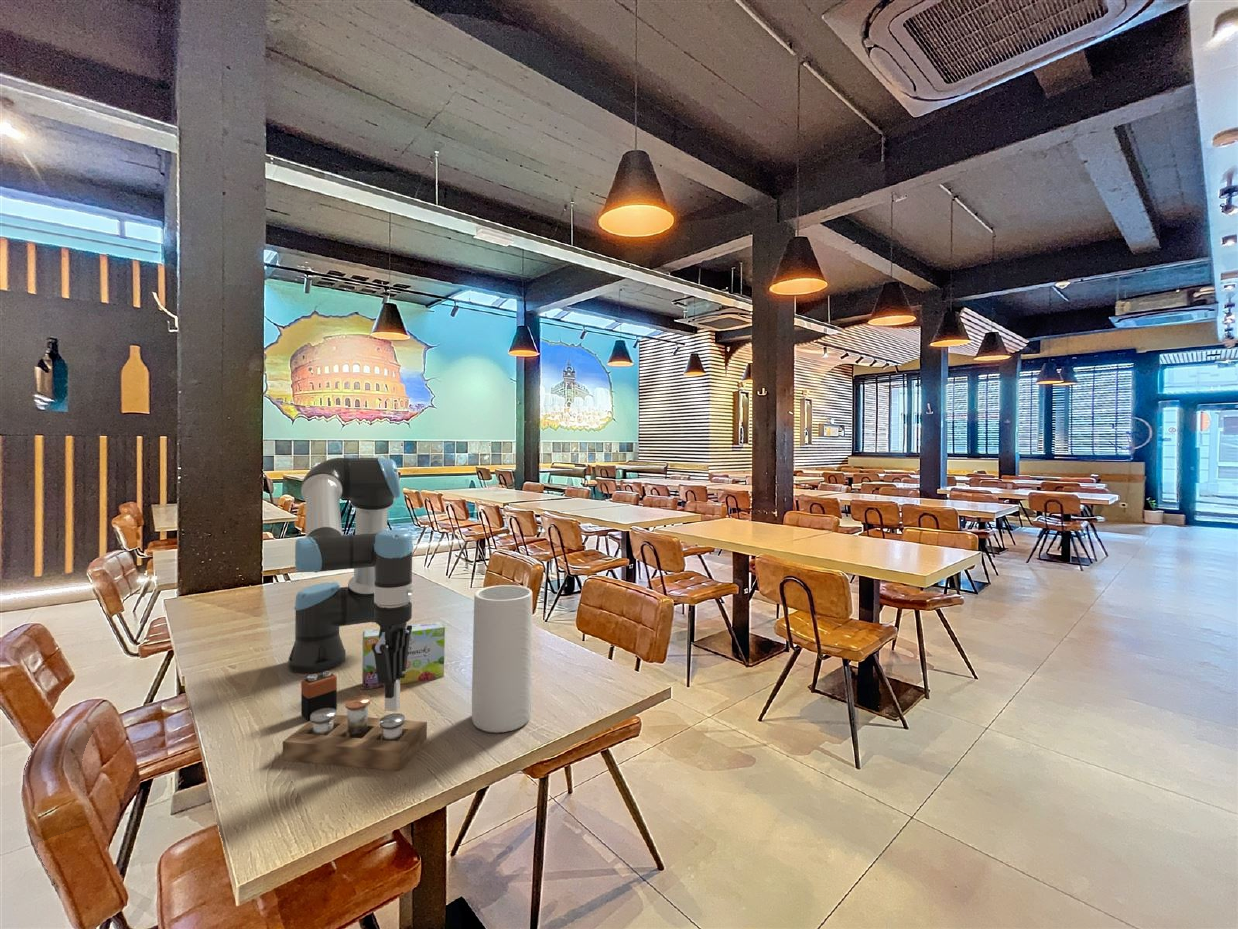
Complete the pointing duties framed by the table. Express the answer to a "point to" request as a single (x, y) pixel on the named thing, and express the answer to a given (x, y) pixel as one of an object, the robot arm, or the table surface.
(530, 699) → the vase
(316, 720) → the plug
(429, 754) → the table surface
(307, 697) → the battery
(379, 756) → the wooden jar holder
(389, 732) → the plug
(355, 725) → the plug mid
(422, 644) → the snack box
